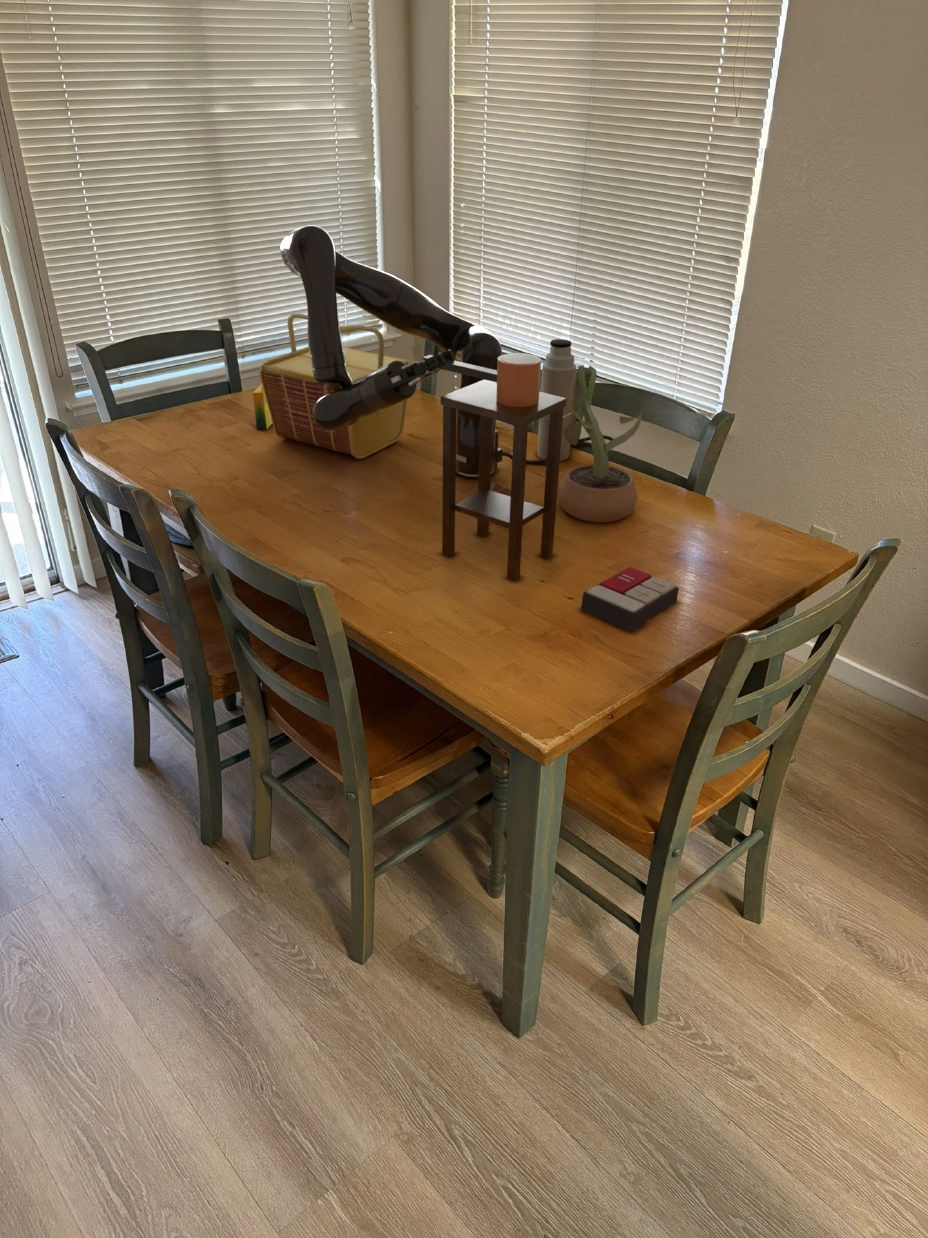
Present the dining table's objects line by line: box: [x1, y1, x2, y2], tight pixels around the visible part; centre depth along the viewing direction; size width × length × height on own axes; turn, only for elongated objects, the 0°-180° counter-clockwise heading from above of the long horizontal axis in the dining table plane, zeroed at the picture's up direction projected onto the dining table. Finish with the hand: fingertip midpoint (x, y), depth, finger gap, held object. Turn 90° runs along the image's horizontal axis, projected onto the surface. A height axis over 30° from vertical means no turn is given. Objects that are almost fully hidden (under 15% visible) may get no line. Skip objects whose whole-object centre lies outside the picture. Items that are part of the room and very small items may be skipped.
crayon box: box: [252, 383, 273, 430], centre depth 243 cm, size 7×3×12 cm, turn 172°
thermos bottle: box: [536, 338, 577, 461], centre depth 224 cm, size 8×8×28 cm
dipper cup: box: [421, 352, 542, 408], centre depth 169 cm, size 25×8×8 cm, turn 53°
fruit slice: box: [490, 480, 511, 497], centre depth 203 cm, size 8×7×5 cm
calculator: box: [580, 566, 680, 633], centre depth 168 cm, size 11×4×15 cm
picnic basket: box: [258, 312, 412, 460], centre depth 229 cm, size 29×26×30 cm
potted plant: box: [545, 365, 642, 524], centre depth 198 cm, size 22×18×30 cm
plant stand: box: [440, 380, 567, 582], centre depth 176 cm, size 18×14×32 cm
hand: (447, 356), depth 172 cm, fingers closed on dipper cup
